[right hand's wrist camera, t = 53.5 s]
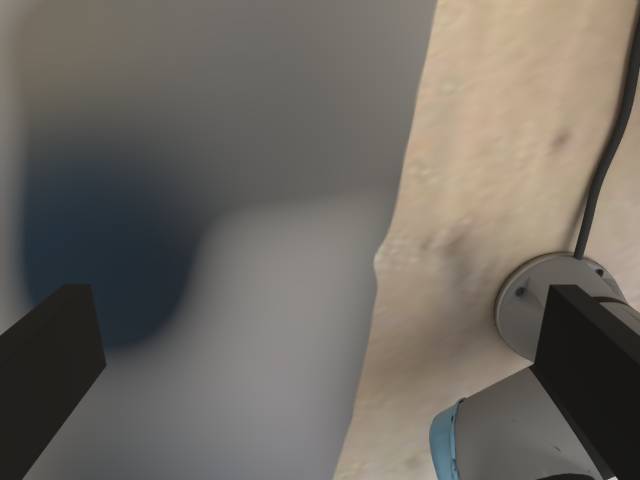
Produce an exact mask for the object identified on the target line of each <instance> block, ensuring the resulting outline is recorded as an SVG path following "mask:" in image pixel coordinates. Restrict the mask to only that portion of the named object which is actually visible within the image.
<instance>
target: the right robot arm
mask: <svg viewBox="0 0 640 480" xmlns="http://www.w3.org/2000/svg"><path fill="white" fill-rule="evenodd" d="M639 68H640V17H639V21H638V25H637V30H636V34H635V38H634V43H633V47H632V52H631V57H630V63H629V69H628V75H627V81H626V87H625V93H624V98H623V103H622V107H621V111H620V114H619V118H618V121H617V124H616V127H615V130H614V133H613V135H612V138H611V140H610V143H609V145H608V147H607V149H606V152H605V154H604V156H603V158H602V160H601V163H600V165H599V167H598V170H597V172H596V175H595V177H594V180H593V183H592V186H591V189H590V192H589V196H588V200H587V204H586V208H585V213H584V217H583V221H582V225H581V229H580V233H579V237H578V241H577V244H576V248H575V252H574V253H570V252H557V253H550V254H546V255H542V256H539V257H537V258H534V259H532V260H530V261H528V262H527V263H525V264H523V265H522V266H520V267H519V268H518V269H517V270H515V271H514V272H513V273H512V274H511V275H510V276H509V277H508V279H507V280H506V281H505V282H504V284H503V285H502V287H501V289H500V291H499V293H498V295H497V298H496V302H495V307H494V319H495V324H496V327H497V329H498V331H499V333H500V335H501V336H502V338H503V339H504V341H505V342H506V343H507V344H508V346H509V347H510V348H512V349H513V350H514V351H515V352H516V353H517V354H519V355H520V356H522V357H524V358H526V359H528V360H530V361H532V362H533V363H534V364H533V365H531V366H529V367H526V368H525V369H523V370H521V371H519V372H517V373H515V374H513V375H511V376H509V377H507V378H505V379H503V380H501V381H499V382H497V383H495V384H493V385H491V386H489V387H488V388H486V389H484V390H482V391H480V392H478V393H476V394H474V395H472V396H470V397H468V398H462V399H460V400H458V401H457V402H456V404H455V405H453V406H451V407H450V408H448V409H446V410H444V411H443V412H441V413H439V414H438V415H437V416H436V417H435V418H434V419H433V422H432V425H431V427H430V431H429V442H430V450H431V455H432V460H433V464H434V467H435V471H436V474H437V477H438V480H608V479H610V478H612V477H615V476H616V478H617V479H618V480H640V313H639V312H638V311H636V310H635V309H633V308H632V307H631V306H629V305H628V303H627V301H626V299H625V297H624V296H623V294H622V292H621V290H620V288H619V286H618V285H617V283H616V281H615V280H614V278H613V277H612V276H611V275H610V274H609V272H608V271H607V270H606V269H605V268H603V267H602V266H601V265H599V264H598V263H596V262H595V261H593V260H592V259H590V258H588V257H586V256H583V254H584V250H585V247H586V243H587V239H588V236H589V232H590V228H591V224H592V220H593V216H594V212H595V207H596V203H597V199H598V196H599V192H600V189H601V186H602V183H603V180H604V178H605V175H606V173H607V170H608V168H609V166H610V164H611V161H612V159H613V157H614V155H615V153H616V151H617V148H618V146H619V144H620V141H621V139H622V137H623V134H624V131H625V129H626V126H627V123H628V120H629V116H630V113H631V109H632V105H633V101H634V96H635V92H636V86H637V80H638V74H639ZM105 367H106V361H105V355H104V350H103V345H102V340H101V335H100V330H99V325H98V320H97V315H96V310H95V305H94V300H93V295H92V290H91V285H90V284H64V285H62V286H61V287H60V288H59V289H57V290H56V291H55V292H54V293H53V294H51V295H50V296H49V297H48V298H46V299H45V300H44V301H43V302H41V303H40V304H39V305H38V306H36V307H35V308H34V309H33V310H31V311H30V312H29V313H28V314H26V315H25V316H24V317H23V318H22V319H20V320H19V321H18V322H17V323H15V324H14V325H13V326H12V327H10V328H9V329H8V330H7V331H5V332H4V333H3V334H2V335H1V336H0V480H22V479H23V478H24V476H25V475H26V473H27V472H28V471H29V469H30V468H31V467H32V465H33V464H34V463H35V461H36V460H37V459H38V457H39V456H40V455H41V453H42V452H43V451H44V449H45V448H46V446H47V445H48V444H49V442H50V441H51V440H52V438H53V437H54V436H55V434H56V433H57V432H58V430H59V429H60V428H61V426H62V425H63V423H64V422H65V421H66V420H67V418H68V417H69V415H70V414H71V413H72V411H73V410H74V409H75V407H76V406H77V405H78V403H79V402H80V401H81V399H82V398H83V396H84V395H85V394H86V393H87V391H88V390H89V388H90V387H91V386H92V384H93V383H94V382H95V380H96V379H97V378H98V376H99V375H100V374H101V372H102V371H103V370H104V368H105Z"/></svg>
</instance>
